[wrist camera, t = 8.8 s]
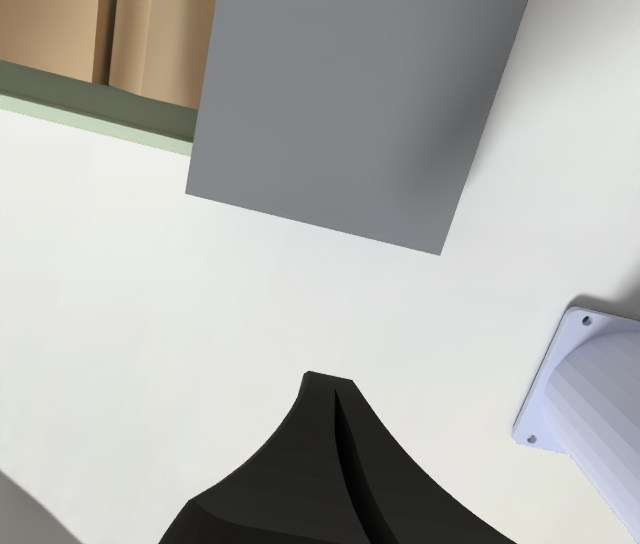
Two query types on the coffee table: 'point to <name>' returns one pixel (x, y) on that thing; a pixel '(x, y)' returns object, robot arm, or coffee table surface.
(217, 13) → the grey flat block
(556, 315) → the coffee table surface
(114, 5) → the oak tile
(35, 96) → the tray
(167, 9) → the oak tile
